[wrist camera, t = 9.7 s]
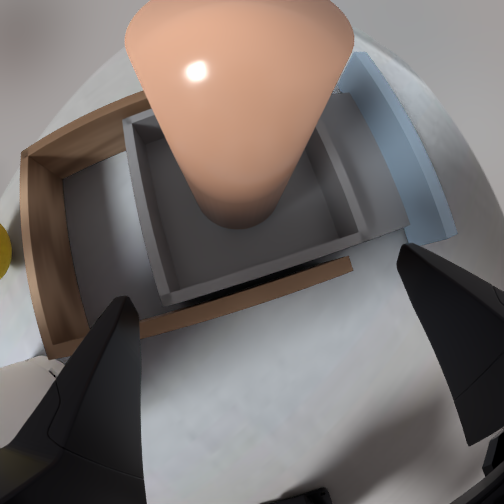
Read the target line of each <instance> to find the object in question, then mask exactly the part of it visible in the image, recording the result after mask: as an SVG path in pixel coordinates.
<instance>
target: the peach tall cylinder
mask: <svg viewBox="0 0 504 504" xmlns="http://www.w3.org/2000/svg"><path fill="white" fill-rule="evenodd" d="M353 46H354V33H353V29H352V27H351V25H350V23H349V21H348V19H347V18H346V16H345V15H344V14H343V12H342V11H341V10H340V9H339V8H338V7H337V6H336V5H334V4H333V3H332V2H331V1H330V0H150V1H149V2H148V3H147V4H146V5H144V6H143V7H142V8H141V9H140V10H139V11H138V12H137V14H136V15H135V16H134V17H133V19H132V20H131V22H130V24H129V26H128V28H127V31H126V35H125V47H126V51H127V54H128V56H129V59H130V61H131V63H132V65H133V68H134V70H135V72H136V74H137V77H138V79H139V81H140V83H141V86H142V88H143V90H144V92H145V95H146V97H147V99H148V101H149V103H150V106H151V108H152V110H153V112H154V114H155V116H156V119H157V121H158V123H159V125H160V127H161V129H162V131H163V134H164V136H165V138H166V140H167V142H168V144H169V146H170V148H171V151H172V153H173V155H174V157H175V159H176V161H177V163H178V165H179V167H180V169H181V171H182V173H183V176H184V178H185V180H186V182H187V184H188V186H189V188H190V190H191V192H192V194H193V196H194V198H195V200H196V202H197V204H198V206H199V208H200V210H201V211H202V212H203V214H204V215H205V216H206V217H207V218H208V219H209V220H211V221H212V222H213V223H215V224H217V225H219V226H221V227H224V228H228V229H247V228H250V227H253V226H256V225H258V224H260V223H262V222H263V221H264V220H266V219H267V218H268V217H269V216H270V215H271V214H272V212H273V211H274V210H275V208H276V206H277V204H278V202H279V200H280V198H281V196H282V194H283V192H284V190H285V188H286V186H287V184H288V182H289V180H290V178H291V176H292V174H293V172H294V170H295V167H296V165H297V163H298V161H299V159H300V157H301V155H302V153H303V151H304V149H305V147H306V145H307V143H308V141H309V139H310V137H311V135H312V133H313V131H314V129H315V127H316V125H317V122H318V120H319V118H320V116H321V114H322V112H323V110H324V108H325V106H326V104H327V102H328V100H329V98H330V96H331V94H332V92H333V90H334V88H335V86H336V83H337V81H338V79H339V77H340V75H341V73H342V71H343V69H344V67H345V65H346V63H347V61H348V59H349V57H350V55H351V53H352V50H353Z"/></svg>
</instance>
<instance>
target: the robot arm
mask: <svg viewBox="0 0 504 504" xmlns="http://www.w3.org/2000/svg"><path fill="white" fill-rule="evenodd" d="M397 270H398V272H399V275H400V277H401V279H402V282H403V284H404V286H405V289H406V291H407V294H408V296H409V299H410V301H411V303H412V306H413V308H414V310H415V312H416V314H417V316H418V318H419V320H420V322H421V324H422V326H423V328H424V330H425V332H426V334H427V337H428V339H429V341H430V343H431V345H432V348H433V350H434V352H435V354H436V357H437V359H438V361H439V364H440V366H441V369H442V371H443V374H444V376H445V379H446V381H447V384H448V386H449V389H450V392H451V394H452V397H453V400H454V403H455V406H456V409H457V412H458V415H459V418H460V421H461V424H462V427H463V431H464V434H465V437H466V441H467V444H468V446H471V445H473V444H475V443H477V442H479V441H481V440H482V439H484V438H486V437H488V436H489V435H491V434H493V433H494V432H496V431H498V430H499V429H501V428H503V430H502V431H501V432H500V433H498V434H497V435H496V436H495V437H494V438H493V439H491V440H490V442H489V446H488V450H487V454H486V457H485V460H484V464H483V467H482V469H483V472H484V474H485V478H484V479H482V480H481V481H480V482H479V483H477V484H476V485H475V486H473V487H472V488H471V489H470V490H468V491H467V492H466V493H464V494H463V495H461V496H460V497H459V498H457V499H456V500H454V501H453V502H451V503H450V504H504V292H503V291H501V290H500V289H498V288H496V287H495V286H492V285H491V284H489V283H488V282H486V281H484V280H483V279H481V278H479V277H477V276H476V275H474V274H472V273H470V272H468V271H467V270H465V269H463V268H461V267H459V266H457V265H455V264H454V263H452V262H450V261H448V260H446V259H444V258H442V257H440V256H438V255H436V254H434V253H433V252H431V251H429V250H427V249H425V248H423V247H421V246H419V245H417V244H414V243H407V244H403V245H402V246H401V249H400V253H399V256H398V260H397ZM322 492H323V493H322ZM0 504H147V502H146V493H145V484H144V475H143V462H142V445H141V348H140V328H139V316H138V313H137V311H136V309H135V307H134V305H133V303H132V302H131V300H130V298H129V297H128V296H119V297H116V298H114V300H113V301H112V302H111V303H110V305H109V306H108V307H107V308H106V310H105V311H104V312H103V314H102V315H101V316H100V317H99V319H98V320H97V321H96V323H95V324H94V325H93V327H92V328H91V329H90V331H89V332H88V333H87V335H86V336H85V337H84V339H83V340H82V342H81V343H80V344H79V346H78V347H77V349H76V350H75V351H74V353H73V354H72V356H71V357H70V358H69V360H68V361H67V363H66V364H65V366H64V367H63V369H62V370H61V372H60V373H59V374H58V376H57V377H56V380H54V382H53V383H52V385H51V386H50V388H49V390H48V391H47V392H46V394H45V395H44V397H43V398H42V400H41V401H40V403H39V404H38V406H37V407H36V408H35V410H34V411H33V413H32V414H31V415H30V417H29V418H28V419H27V421H26V422H25V423H24V425H23V426H22V428H21V429H20V430H19V432H18V433H17V435H16V436H15V437H14V439H13V440H12V441H11V442H10V443H9V444H7V445H6V446H4V447H2V448H0ZM271 504H332V501H331V498H330V495H329V492H328V490H327V488H320V489H317V490H314V491H311V492H308V493H305V494H302V495H299V496H296V497H292V498H289V499H286V500H282V501H278V502H274V503H271Z"/></svg>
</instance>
